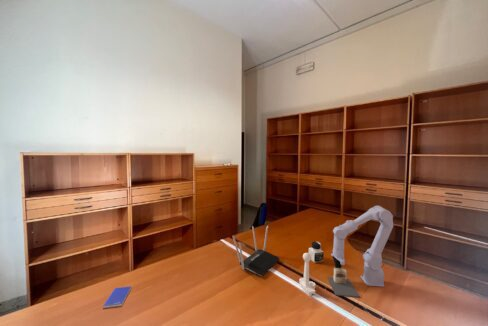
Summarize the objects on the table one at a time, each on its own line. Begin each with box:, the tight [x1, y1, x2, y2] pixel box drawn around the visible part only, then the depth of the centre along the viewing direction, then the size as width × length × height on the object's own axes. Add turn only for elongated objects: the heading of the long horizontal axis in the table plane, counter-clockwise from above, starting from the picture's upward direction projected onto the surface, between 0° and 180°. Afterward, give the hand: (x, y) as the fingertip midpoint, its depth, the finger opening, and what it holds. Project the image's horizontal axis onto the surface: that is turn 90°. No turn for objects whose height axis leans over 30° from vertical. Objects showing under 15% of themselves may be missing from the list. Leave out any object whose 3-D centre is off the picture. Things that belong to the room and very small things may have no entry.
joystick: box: [298, 252, 316, 297], centre depth 109 cm, size 11×8×20 cm
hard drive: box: [102, 286, 132, 309], centre depth 101 cm, size 2×8×12 cm
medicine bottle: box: [308, 241, 325, 264], centre depth 137 cm, size 7×7×12 cm
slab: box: [332, 267, 348, 284], centre depth 114 cm, size 6×3×7 cm, turn 84°
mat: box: [327, 277, 361, 298], centre depth 110 cm, size 12×14×1 cm
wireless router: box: [232, 225, 280, 277], centre depth 132 cm, size 34×23×20 cm
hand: (337, 269), depth 118 cm, fingers closed
